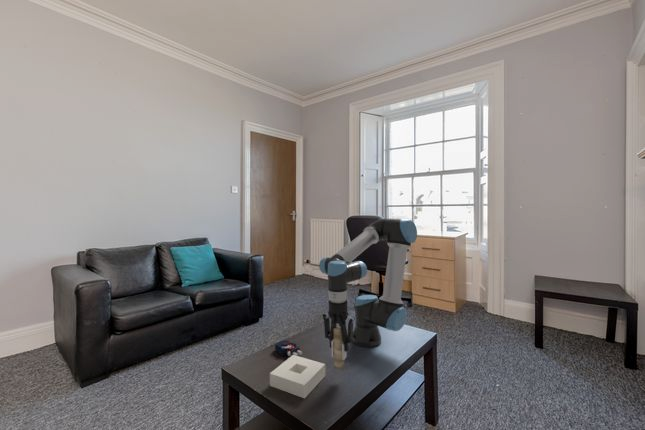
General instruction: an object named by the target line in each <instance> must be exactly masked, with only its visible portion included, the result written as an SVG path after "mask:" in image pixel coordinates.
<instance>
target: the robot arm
mask: <svg viewBox="0 0 645 430" xmlns="http://www.w3.org/2000/svg"><path fill="white" fill-rule="evenodd" d="M417 237H418V229H417V226H416V224H415V221H413V220H411V219H407V218H390V217H389V218H387V217H386V218H380V219H378V220H376V221H373V222H371V223H370V224H369V225H368V226H366V227H365V228H364V229H363V232H362V233H360V234H358V235H357V236H356V237H354V238H353V240H351V241H350V242H349V243H348V244H346V245H345V246H344V247H342V248H340V250H339V251H337V252H336V253H334V254H333V255H332V256H331V257H322V258H321V260H320V261H319V263H318V264H319V265H318V268H319V270H320V272H321V273H322V274H324V275H327V287H328V288H327V289H328V290H327V291H328V292H327V293H328V311H327V312H326V311H325V312H324V313H323V314H322V318H323V326H324V337H325V339H328V341H329V348H330V349H331V358H334V328H335V327H336V326H337V325H338V324H339V325H338V326H340V327H341V332H342V337H343V343H342V360H344V361H345V360H346V358H347V357H348V355H347V353H348V351H349V344H351V343H354V344H355V345H356V346H359V347H364V348H365V347H366V348H373V347H376V346H379V345H381V343H382V335H381V332H380V329H379V327H381V328H384V329H386V330H388V331H392V332H398V331H400V330H401V329H402V328H403V327H404V326H405V324H406V322H407V316H408V312H407V309H406V308H405V307H404V302H403V300H402V294H403V293H402V291H403V284H404V277H405V276H404V275H405V269H406V262H407V253H408V250H409V249H410V248H411V246H412V244H413V243H416V240H417V239H418V238H417ZM381 241H387V242H386V244H387V246H388V247H389V249H388V257H387V261H386V262H387V263H386V270H385V276H384V277H385V278H384V284H383V292H382V296H380V297H379V298H378V296H377V295H376V294H375V295H374V294H364V295H359V296H356V298H355V302H354V303H355V304H354V316H352V317H351V316H350V315H349V313H348V283H352V282H354V281H357V280H358V281H359V280H361V279H363V278H365V277H366V275H367V273H368V267H367V265H366V263H364V262H363V261H361V260H356V258H357V257H358V256H360V255H361V254H362V253H363V252H364V251H365V250H367V249H368V248H369V247H370V246H371V245H373V244H377V243H378V242H381ZM354 260H356V261H354ZM330 320H331V321H330ZM346 320H347V322H346ZM354 322H355V323H354Z"/></svg>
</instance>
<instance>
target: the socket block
mask: <svg viewBox="0 0 645 430" xmlns="http://www.w3.org/2000/svg"><path fill="white" fill-rule="evenodd" d="M325 377H326V363H323V362H319V361H315V360H313V359H309V358H306V357H302V356H299V355H298V356H296V355H292V356H289V357H288V358H287V359H286V360H284V361H283V362H282V363H281V364H280V365H279V366H276V368H275V369H274V370H272V371H271V372H269V386H270V387H272V388H275V389H278V390H280V391H283V392H285V393H286V392H287V393H289V394H292V395H293V396H294V395H295V396H297V397H300V398H302V399H306V397H307V396H309V395H310V393H311V392H312V391H313V390H314V389H315V388H316V387H317V386H318V384H319V383H320V382H321V381H323V379H324V378H325Z"/></svg>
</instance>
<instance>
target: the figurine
mask: <svg viewBox="0 0 645 430" xmlns="http://www.w3.org/2000/svg"><path fill="white" fill-rule="evenodd" d="M274 350H275V351H276V353H278V354H279V355H281V356H282V357H285V356H288V357H291V356H292V355H296V356H299V355H300V356H302V355H303V351H301V348H300V346H297V344H296V343H295V342H291V341H289V340H287V339H286V340H282V341H279V342H277V343H276V344H275V346H274Z"/></svg>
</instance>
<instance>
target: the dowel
mask: <svg viewBox="0 0 645 430" xmlns="http://www.w3.org/2000/svg"><path fill="white" fill-rule="evenodd" d="M342 343H343V337H342V332H341V327H340V326H339V325H336V327H335V328H334V357H333V358H334V359H333V361H334V363H333V364H334V365H333V366H334V369H335V370H337V371H341V370H344V369H345V360H342Z"/></svg>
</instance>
